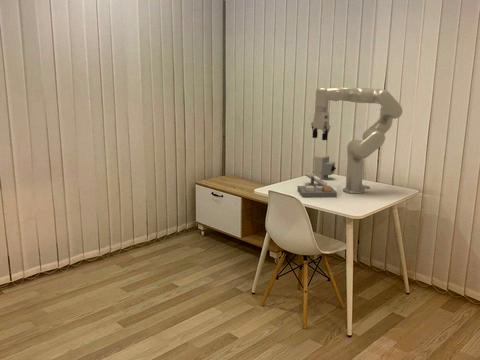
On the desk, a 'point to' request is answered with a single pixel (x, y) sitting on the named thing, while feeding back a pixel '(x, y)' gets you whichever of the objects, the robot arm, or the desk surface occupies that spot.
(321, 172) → the circuit breaker
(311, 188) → the grey button
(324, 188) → the copper button
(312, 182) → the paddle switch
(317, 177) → the pale slanted lever
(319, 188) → the dark grey tray
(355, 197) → the desk surface
